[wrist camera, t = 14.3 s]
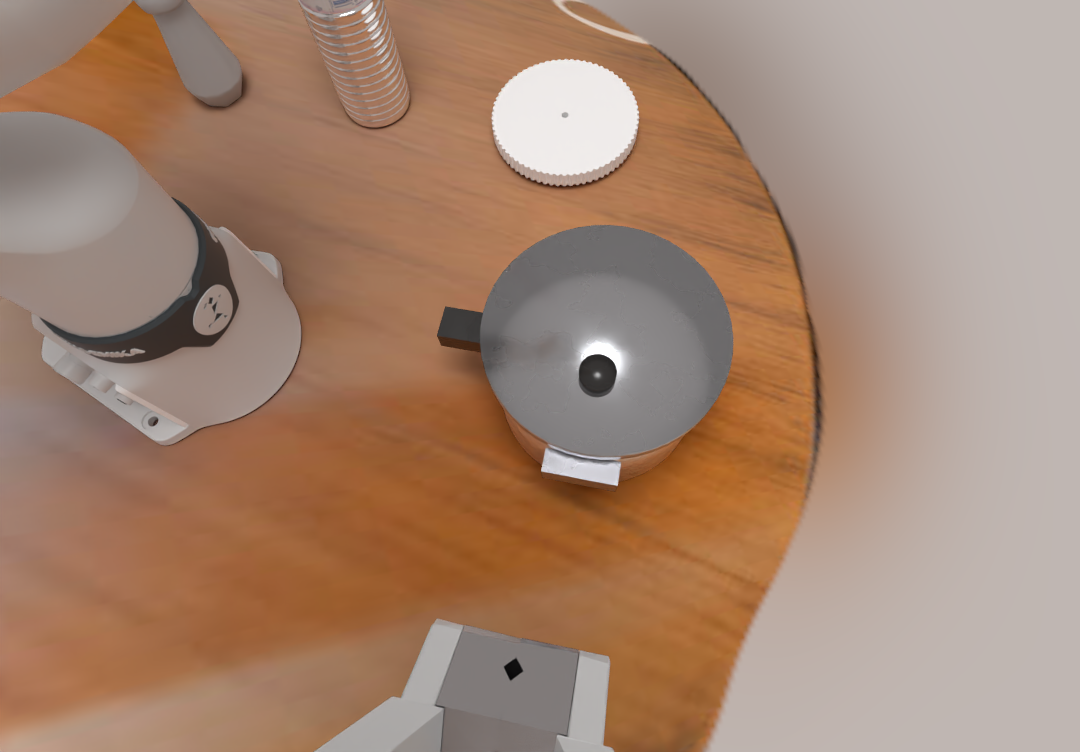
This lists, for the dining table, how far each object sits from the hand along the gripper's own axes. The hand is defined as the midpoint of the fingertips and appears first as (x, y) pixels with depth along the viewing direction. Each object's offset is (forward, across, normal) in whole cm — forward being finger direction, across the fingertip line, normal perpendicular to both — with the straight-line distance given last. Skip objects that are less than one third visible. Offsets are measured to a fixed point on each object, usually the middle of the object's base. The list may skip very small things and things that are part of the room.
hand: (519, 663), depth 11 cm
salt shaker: (+59, +43, -3) cm, 74 cm away
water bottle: (+60, +27, -4) cm, 66 cm away
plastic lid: (+60, +8, -4) cm, 61 cm away
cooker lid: (+35, 0, +7) cm, 35 cm away
